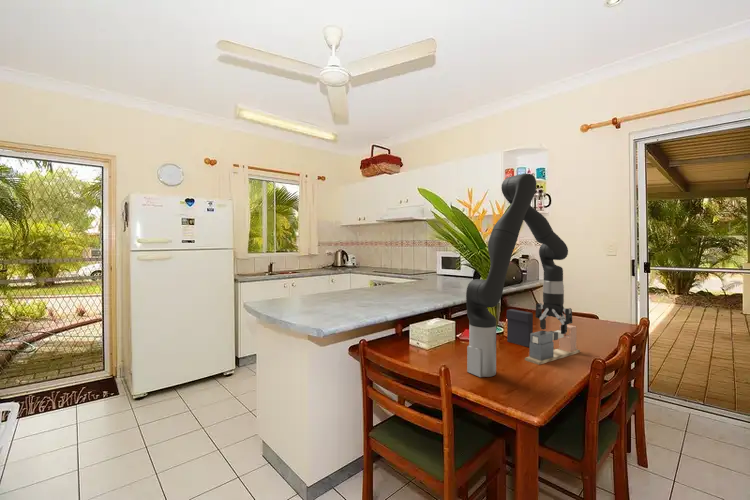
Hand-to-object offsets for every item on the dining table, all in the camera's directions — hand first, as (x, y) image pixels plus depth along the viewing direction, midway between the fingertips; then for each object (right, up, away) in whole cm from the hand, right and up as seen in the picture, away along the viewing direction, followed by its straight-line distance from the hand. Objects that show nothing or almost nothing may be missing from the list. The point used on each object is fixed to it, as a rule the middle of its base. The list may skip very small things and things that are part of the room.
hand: (553, 331), depth 142 cm
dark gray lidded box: (-6, -10, +17) cm, 21 cm away
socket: (+9, -10, +6) cm, 14 cm away
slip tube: (-3, -3, -2) cm, 4 cm away
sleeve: (-7, -10, -4) cm, 13 cm away
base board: (0, -10, 0) cm, 10 cm away
